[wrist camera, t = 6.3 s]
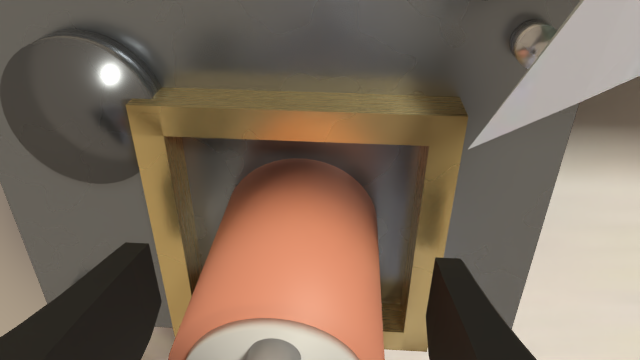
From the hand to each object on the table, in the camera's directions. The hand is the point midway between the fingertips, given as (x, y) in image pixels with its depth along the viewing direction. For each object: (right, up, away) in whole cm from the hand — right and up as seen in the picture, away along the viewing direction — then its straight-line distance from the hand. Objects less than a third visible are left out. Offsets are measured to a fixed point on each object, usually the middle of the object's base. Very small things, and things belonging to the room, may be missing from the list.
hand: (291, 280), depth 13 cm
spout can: (0, +1, +2) cm, 3 cm away
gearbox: (-1, +4, +4) cm, 6 cm away
